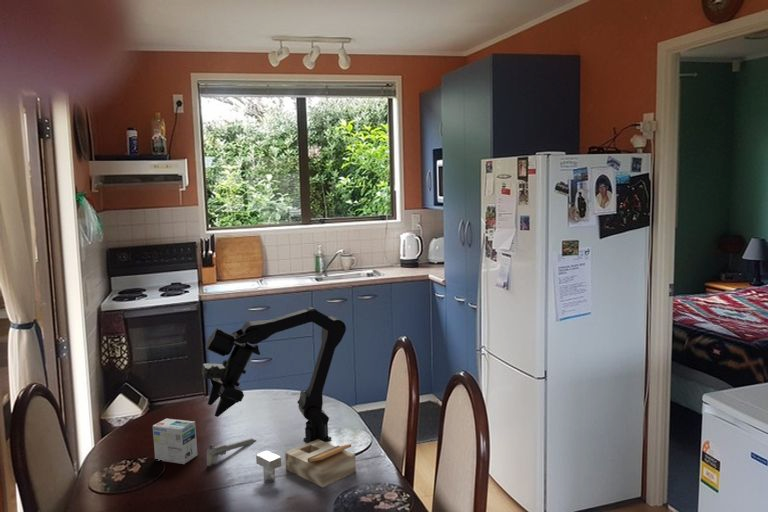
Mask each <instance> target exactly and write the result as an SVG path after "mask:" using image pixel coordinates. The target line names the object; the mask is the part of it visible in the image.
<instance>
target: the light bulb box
mask: <svg viewBox="0 0 768 512" xmlns="http://www.w3.org/2000/svg"><path fill="white" fill-rule="evenodd" d="M152 437H153V447H154V449H153V450H154V460H155V459H158V460H157V461H160V460H162V461H161V462H168V463H174V464H180V465H181V464H182V465H186V463H189V462H190V461H191V460H193V459H194V458H195V457H197V456H198V455H199V454H198V443H197V442H198V441H197V429H196V421H195V420H193V421H192V420H183V419H174V418H165V419H163V420H160V421H158V422H157V423H155V424H153V425H152Z"/></svg>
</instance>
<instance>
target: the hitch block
mask: <svg viewBox="0 0 768 512" xmlns="http://www.w3.org/2000/svg"><path fill="white" fill-rule="evenodd" d="M334 447H336V446H335V445H334V444H331V443H328V442H327V441H326V442H324V441H321V440H319V439H317V440H315V441H312V442H310V443H309V442H306V443H305V444H303V445H301V446H297V447H294V448H293V449H290V450H288V451H286V452H284V453H285V455H284V457H285V459H284V460H285V470H287V471H288V472H291V473H292V474H294V475H297V476H299V477H300V478H303V479H305V480H307V481H309V482H311V483H313V484H315V485H317V486H319V487H321V488H324V487H326V486H328V485H331V484H333V483H336V482H337V481H340V480H342V479H344V478H345V477H348V476H349V475H352V474H354V473H356V469H357V468H356V467H357V466H356V465H357V464H356V454H355V453H352V452H350V451H348V450H346V449H345V450H343V451H340V452H338V453H336V454H333V455H331V456H329V457H326V458H324V459H322V460H317V461H312V462H308V460H307V459H308V458H310V457H312V456H315V455H317V454H319V453H322V452H324V451H327V450H329V449H331V448H334Z"/></svg>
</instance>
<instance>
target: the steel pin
mask: <svg viewBox="0 0 768 512" xmlns="http://www.w3.org/2000/svg"><path fill="white" fill-rule="evenodd" d="M255 456H256V457H255V459H256V462H255V463H256V464H257V465H259V466H260V467H262V469H263V483H265V484H272V483H274V482H275V481H276V473H275V472H276V469H277V468H279V467H282V457H281V456H280V455H278V454H276V453H273V452H271V451H269V450H264V451H262V452H260V453H257V454H255Z"/></svg>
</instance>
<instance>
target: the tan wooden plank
mask: <svg viewBox="0 0 768 512" xmlns="http://www.w3.org/2000/svg"><path fill="white" fill-rule="evenodd" d="M351 447H353V446H352V444H349V443H348V444H344V445H337V446H336V447H334V448H331V449H329V450H327V451H324V452H322V453H319V454H317V455H315V456H312V457H310V458H308V459H307V460H308V462H312V461H317V460H322V459H324V458H326V457H329V456H331V455H333V454H336V453H338V452H340V451H343V450H345V451H346V450H347V449H349V448H351Z"/></svg>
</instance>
